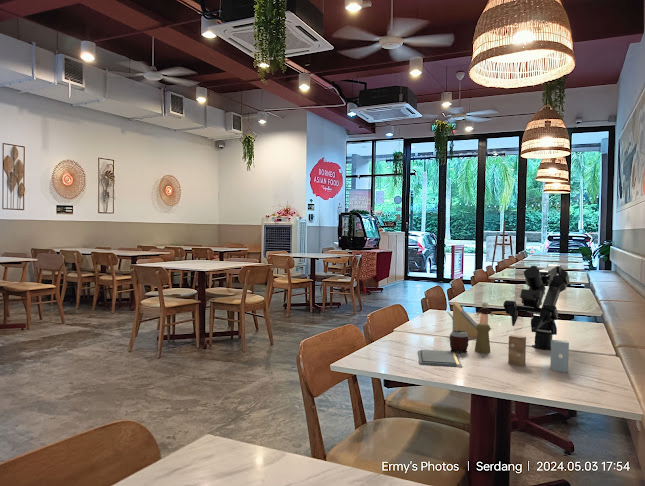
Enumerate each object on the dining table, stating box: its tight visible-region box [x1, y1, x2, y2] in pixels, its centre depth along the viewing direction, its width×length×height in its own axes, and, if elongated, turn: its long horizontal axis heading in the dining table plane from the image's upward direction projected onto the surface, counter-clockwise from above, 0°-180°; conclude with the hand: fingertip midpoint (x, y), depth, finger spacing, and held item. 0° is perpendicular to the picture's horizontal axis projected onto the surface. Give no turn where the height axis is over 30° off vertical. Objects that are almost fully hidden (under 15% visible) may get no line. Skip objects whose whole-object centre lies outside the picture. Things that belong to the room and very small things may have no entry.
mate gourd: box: [446, 311, 470, 355], centre depth 185 cm, size 8×8×15 cm
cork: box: [474, 322, 491, 354], centre depth 187 cm, size 6×6×11 cm
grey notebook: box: [417, 349, 463, 369], centre depth 174 cm, size 20×2×15 cm
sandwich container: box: [451, 300, 478, 339], centre depth 216 cm, size 9×15×15 cm, turn 68°
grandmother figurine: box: [476, 300, 494, 325], centre depth 238 cm, size 8×4×13 cm, turn 80°
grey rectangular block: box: [550, 339, 570, 373], centre depth 162 cm, size 4×5×10 cm
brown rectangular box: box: [507, 334, 527, 367], centre depth 169 cm, size 4×5×10 cm
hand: (524, 327), depth 175 cm, fingers open, 8 cm apart
